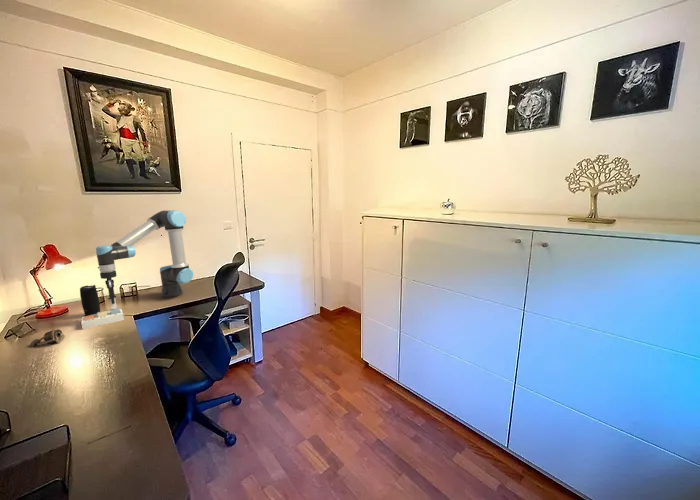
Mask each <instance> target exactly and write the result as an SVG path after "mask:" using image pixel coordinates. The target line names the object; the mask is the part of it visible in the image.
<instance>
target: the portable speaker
mask: <svg viewBox="0 0 700 500" xmlns="http://www.w3.org/2000/svg"><path fill="white" fill-rule="evenodd" d="M96 287H97V286H96V285H95V284H94V285H93V284H92V285H82V286H81V287H80V288H79V295H80V301H81V302H80V303H81V306H82V309H83V313H84V316H89V315H94V314H97V312H101V306H100V305H101V304H100V299H99V294H98V290H97V288H96Z"/></svg>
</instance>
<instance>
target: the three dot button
mask: <svg viewBox="0 0 700 500" xmlns="http://www.w3.org/2000/svg"><path fill="white" fill-rule="evenodd" d="M83 317H84V316H83ZM93 318H95V316H94V315H91V316H86V317H84V320H89V319H93Z"/></svg>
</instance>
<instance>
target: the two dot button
mask: <svg viewBox="0 0 700 500" xmlns="http://www.w3.org/2000/svg"><path fill="white" fill-rule="evenodd" d="M107 312H108V310H100V312H97V315H98V317H103V316H107Z"/></svg>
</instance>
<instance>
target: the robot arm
mask: <svg viewBox="0 0 700 500" xmlns="http://www.w3.org/2000/svg"><path fill="white" fill-rule="evenodd" d="M186 221H187V220H186V216H185V214H184V213H183V212H182V211H179V210H174V209H172V210H170V209H169V210H167V209H166V210H160V211H158V212H157V213H155V214H153V215H152V216H150V217H148V218H147V219H146V222H144V223H143V224H141V225H140V226H139V225H138V227H136V228H135V229H133V230H132V231H130V232H128V233H127V234H126V235H124V236H123V237H121V238H119V239H118V240H116V241H115V242H113V243H112V244H111V245H110V244H107V245H106V244H105V245H99V246H97V247H95V253H96V257H97V265H98V266H97V269H99V275H100V279H102V280H103V279H104V280H105V279H106V280H105V282H104V283H105V285H106V289H107V290H108V296H109V297H108V300H109V303H110V309H115V308H118V306H117V302H116V298H117V295H115V289H114V288H115V284H114V283H115V280H114V279H112V278H116V277H117V271H116V264H115V261H116V260H122V259H129V258H134V257H135V256H136V254H137V253H136V249H135V247H134V245H135V244H136V243H138V242H139V241H141V240H142V239H144V238H145V237H147V236H148V235H150V234H151V233H153V232H154V231H158V230H159V229H162V228H164V230H165V231H166V232H167V234H168V235H167V236H168V241H169V247H170V248H169V249H170V254H171V261H172V264H170V265H164V266H161V267H160V268H159V273H160V280H161V281H160V282H161V291H160V297H161V298H174V297H178V296H181V295H183V294H184V290H183V288H182V287H183V286H181V285H183V284H188V283H190V282H191V281H192V279H193V277H194V272H193V270H192V269H191V268H190V265H189V264H188V262H187V260H186V251H185V245H184V238H183V232H182V231H183V230H184V226H185V224H186Z"/></svg>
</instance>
